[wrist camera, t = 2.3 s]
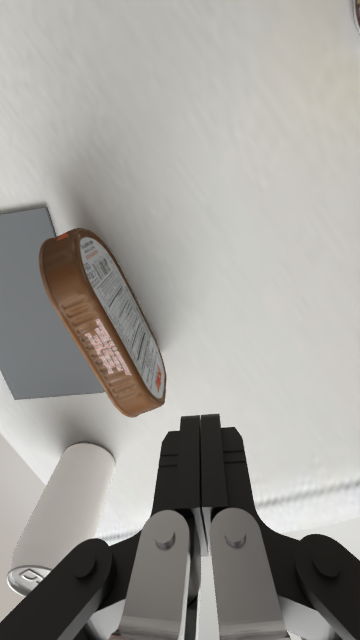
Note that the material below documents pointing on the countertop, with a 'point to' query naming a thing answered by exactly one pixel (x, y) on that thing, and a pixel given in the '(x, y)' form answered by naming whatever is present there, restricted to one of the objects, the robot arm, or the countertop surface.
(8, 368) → the mat
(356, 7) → the supplement bottle
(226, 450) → the robot arm
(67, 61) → the countertop surface
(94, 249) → the tin
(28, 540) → the can
